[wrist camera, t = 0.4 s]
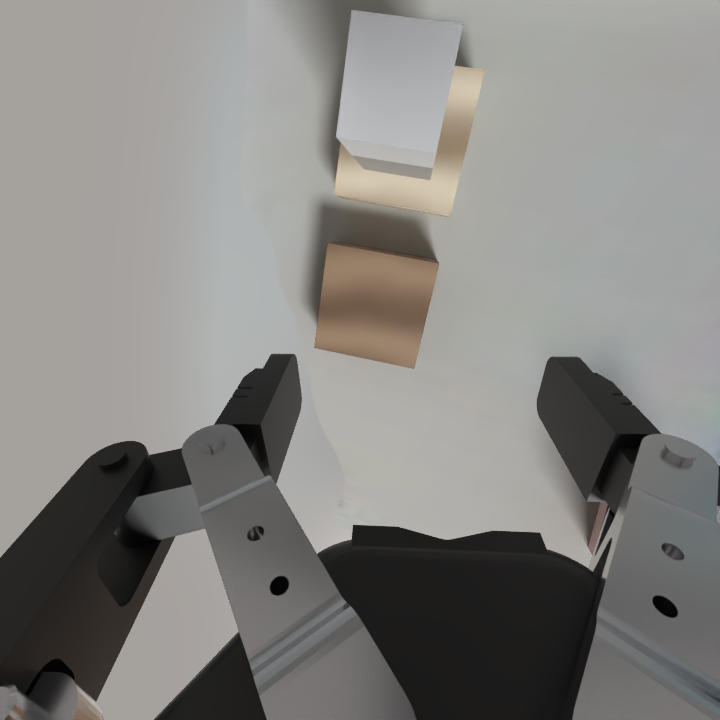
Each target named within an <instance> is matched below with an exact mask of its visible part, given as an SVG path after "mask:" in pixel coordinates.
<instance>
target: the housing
mask: <svg viewBox="0 0 720 720" xmlns="http://www.w3.org/2000/svg"><path fill="white" fill-rule="evenodd" d="M462 29H463V24H459V23H451V22H443V21H435V20H427V19H419V18H411V17H404V16H396V15H388V14H380V13H372V12H364V11H357V10H352V11H351V20H350V28H349V36H348V44H347V52H346V60H345V68H344V76H343V84H342V92H341V100H340V108H339V116H338V125H337V133H336V138H337V139H338V140H339V141H340V142H341V143H342V145H343V146H344V147H345V148H346V149H347V150H348V152H349V153H350V154H351V155H352V156H353V157H354V158H355V160H356V161H357V162H358V163H359V164H360V165H361V167H362V168H363V169H364V170H370V171H376V172H382V173H388V174H394V175H400V176H406V177H412V178H418V179H424V180H430V179H431V174H432V170H433V165H434V161H435V156H436V152H437V147H438V142H439V138H440V133H441V128H442V123H443V119H444V114H445V109H446V105H447V100H448V95H449V90H450V86H451V81H452V76H453V71H454V67H455V62H456V57H457V53H458V48H459V43H460V38H461V34H462Z"/></svg>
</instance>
